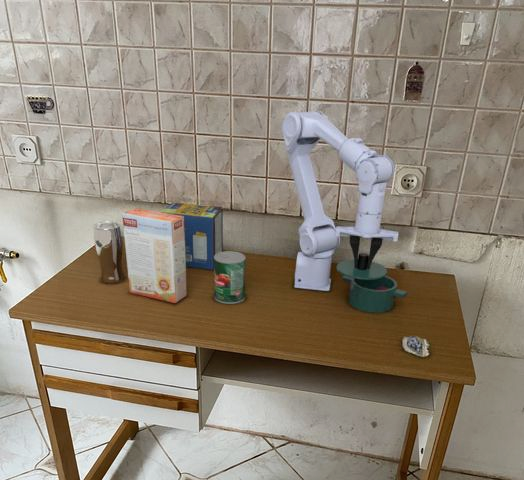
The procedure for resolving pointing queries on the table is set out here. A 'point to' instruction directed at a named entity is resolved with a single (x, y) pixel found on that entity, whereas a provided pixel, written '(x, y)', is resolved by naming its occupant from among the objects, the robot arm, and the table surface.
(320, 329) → the table surface
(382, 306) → the pot
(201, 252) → the protein box
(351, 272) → the lid
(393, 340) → the table surface
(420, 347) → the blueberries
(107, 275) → the beer glass
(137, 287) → the cracker box
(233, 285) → the canned tomato
